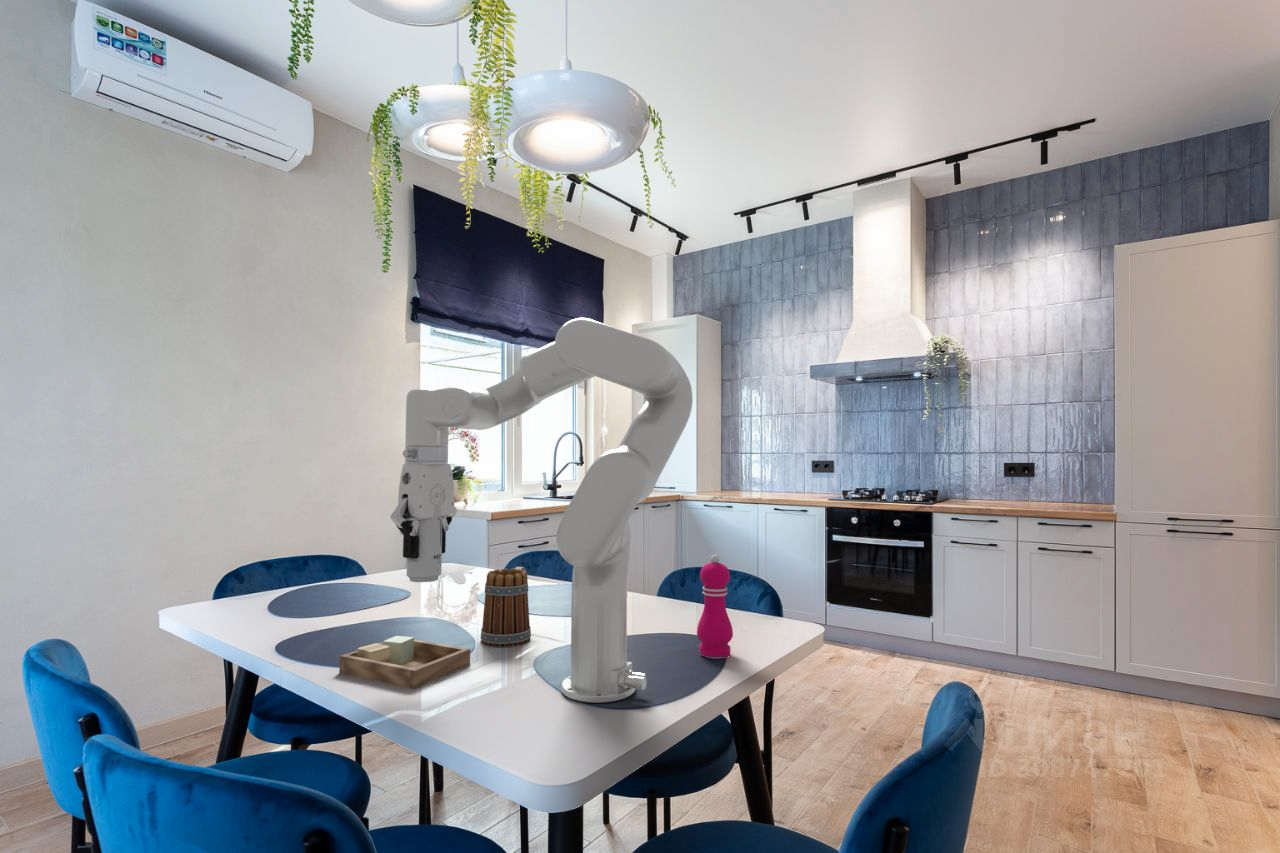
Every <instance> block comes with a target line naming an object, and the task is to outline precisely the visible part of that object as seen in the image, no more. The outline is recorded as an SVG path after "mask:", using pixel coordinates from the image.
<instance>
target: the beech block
mask: <svg viewBox="0 0 1280 853" xmlns="http://www.w3.org/2000/svg"><path fill="white" fill-rule="evenodd" d="M378 643H379V642H375V643H371V644H368V645H365V646H361V647H357V648H356V650H357V657H360V658H366V659H371V660H376V661H381V662H386V663H390V647H389V646H386V645H382V644H378Z"/></svg>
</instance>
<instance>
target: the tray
mask: <svg viewBox="0 0 1280 853" xmlns="http://www.w3.org/2000/svg"><path fill="white" fill-rule="evenodd" d="M377 643H378V644H382V645H383V641H382V642H381V641H380V642H377ZM469 666H471V648H467V647H461V646H455V645H450V644H443V643H437V642H432V641H425V640H421V639H415V638H414V658H413V659H411V660H409V661H407V662H405V663H403V664H401V665H400V664H391V663H386V662H381V661H376V660H371V659H366V658H360V657H357V649H356V650H354V651H350V652H347V653H344V654H341V655H339V671H338V672H339V674H341V675H348V676H352V677H355V678H360V679H361V678H362V679H366V680H371V681H375V682H379V683H385V684H388V685H393V686H398V687H403V688H406V689H407V688H408V689H412V690H416V689H418V688H420V687H423V686H425V685H428V684H430V683H432V682H435V681H437V680H440V679H441V678H444V677H446V676H448V675H452V674H453V673H456V672H458V671H460V670H463V669H465V668H467V667H469Z"/></svg>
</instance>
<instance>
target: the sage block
mask: <svg viewBox="0 0 1280 853" xmlns="http://www.w3.org/2000/svg"><path fill="white" fill-rule="evenodd" d="M414 639H415V637H413V636H406V635H405V636H403V635H395V636H392V637H389V638H386V639H384V640H383V641H382V642H383V645H386V646H389V647H390V663H391V664H400V665H401V664H403V663H405V662H407V661H409V660H411V659H413V658H414Z"/></svg>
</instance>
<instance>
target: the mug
mask: <svg viewBox="0 0 1280 853" xmlns="http://www.w3.org/2000/svg"><path fill="white" fill-rule="evenodd" d="M528 579H529V578H528V572H527V569H526V568H525V566H516V567H514V568H510V570H509V568H502V569H497V568H496V569H494V570H489V571H488V572H487V574H486V581H485V583H484V584H485V585H484V601H483V602H484V603H483V605H484V606H483V616H482V626H481V629H480V643H481V644H483V646H487V647H492V648H513V647H518V646H519V647H520V646H522V645H525V644H528V643H529V642H530V641H531V637H532V632H531V631H532V629H531V625H530V608H529V581H528Z"/></svg>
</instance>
